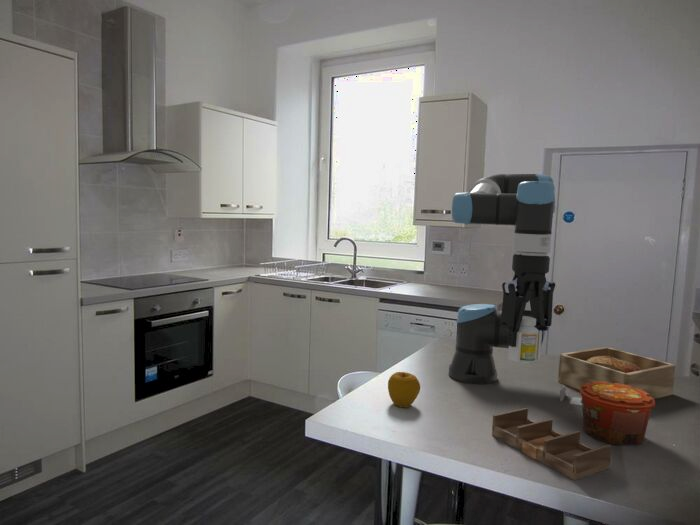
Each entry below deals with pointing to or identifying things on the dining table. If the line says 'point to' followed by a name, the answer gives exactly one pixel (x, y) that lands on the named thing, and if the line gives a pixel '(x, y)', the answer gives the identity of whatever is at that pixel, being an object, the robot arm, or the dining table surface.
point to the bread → (614, 364)
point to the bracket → (573, 401)
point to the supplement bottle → (528, 340)
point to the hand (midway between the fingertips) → (524, 359)
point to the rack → (550, 444)
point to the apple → (403, 388)
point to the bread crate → (650, 379)
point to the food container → (615, 412)
